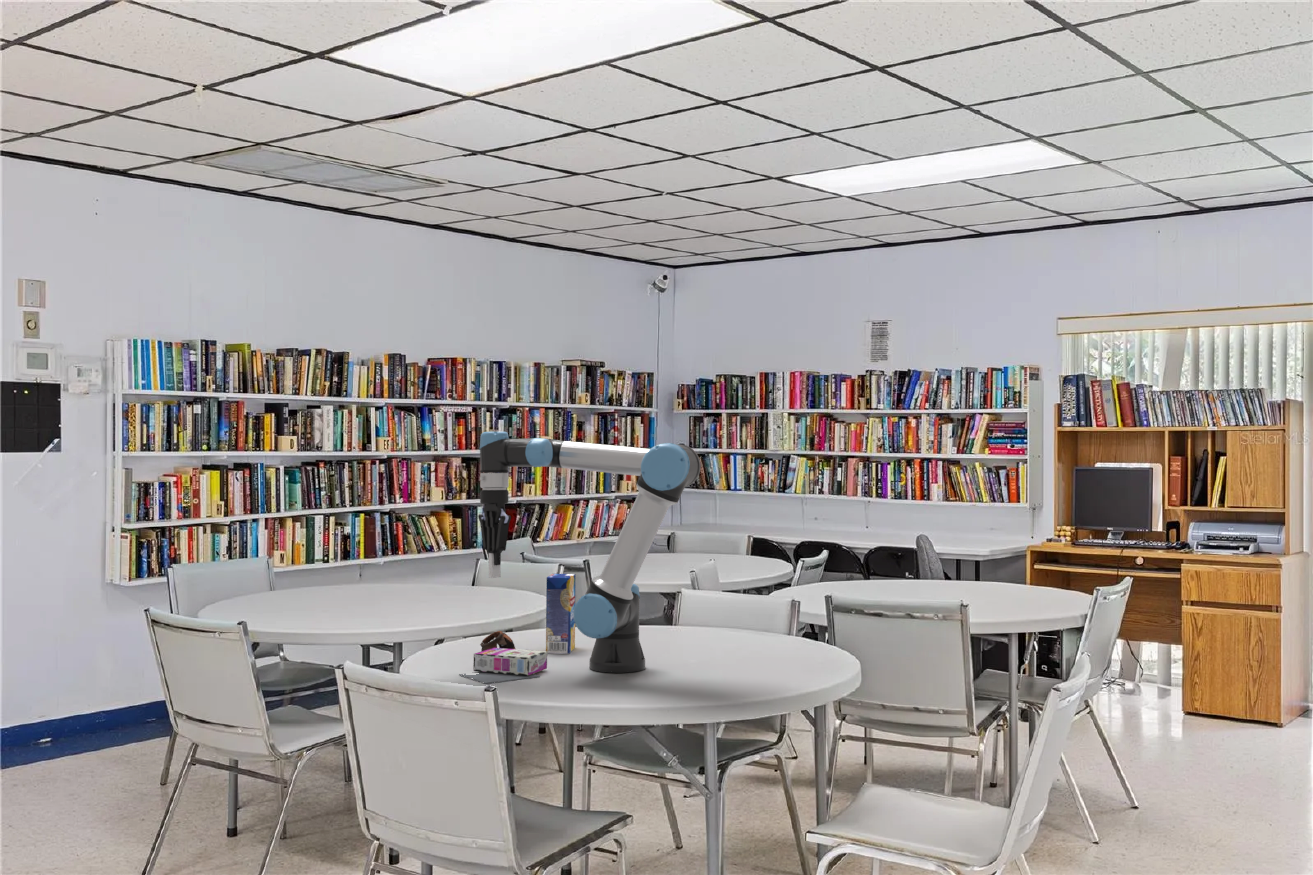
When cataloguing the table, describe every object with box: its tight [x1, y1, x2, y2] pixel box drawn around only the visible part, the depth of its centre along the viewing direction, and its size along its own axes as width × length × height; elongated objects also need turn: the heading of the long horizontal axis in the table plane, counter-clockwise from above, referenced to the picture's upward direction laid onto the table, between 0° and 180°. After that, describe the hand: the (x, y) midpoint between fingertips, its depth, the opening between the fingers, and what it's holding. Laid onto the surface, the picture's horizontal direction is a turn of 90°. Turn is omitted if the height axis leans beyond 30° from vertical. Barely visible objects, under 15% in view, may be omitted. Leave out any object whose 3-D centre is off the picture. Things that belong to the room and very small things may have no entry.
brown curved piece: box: [479, 630, 516, 652], centre depth 325 cm, size 12×10×8 cm
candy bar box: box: [472, 647, 548, 676], centre depth 301 cm, size 11×5×16 cm
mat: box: [458, 671, 541, 685], centre depth 295 cm, size 14×16×1 cm
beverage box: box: [545, 573, 576, 655], centre depth 335 cm, size 7×11×22 cm, turn 175°
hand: (494, 577), depth 304 cm, fingers closed
